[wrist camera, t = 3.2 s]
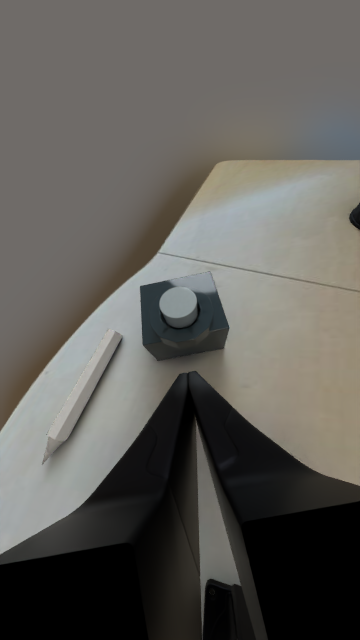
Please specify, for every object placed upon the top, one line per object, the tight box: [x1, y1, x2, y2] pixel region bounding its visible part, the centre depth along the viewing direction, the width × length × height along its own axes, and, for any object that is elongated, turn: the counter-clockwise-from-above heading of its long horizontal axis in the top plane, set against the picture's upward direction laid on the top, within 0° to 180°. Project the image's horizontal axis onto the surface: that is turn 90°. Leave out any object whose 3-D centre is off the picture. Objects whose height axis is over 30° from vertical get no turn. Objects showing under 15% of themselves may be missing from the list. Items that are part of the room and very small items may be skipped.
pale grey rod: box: [42, 329, 122, 465], centre depth 21 cm, size 3×2×16 cm
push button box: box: [140, 271, 229, 361], centre depth 21 cm, size 9×9×8 cm
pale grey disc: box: [159, 287, 198, 328], centre depth 16 cm, size 3×3×2 cm
